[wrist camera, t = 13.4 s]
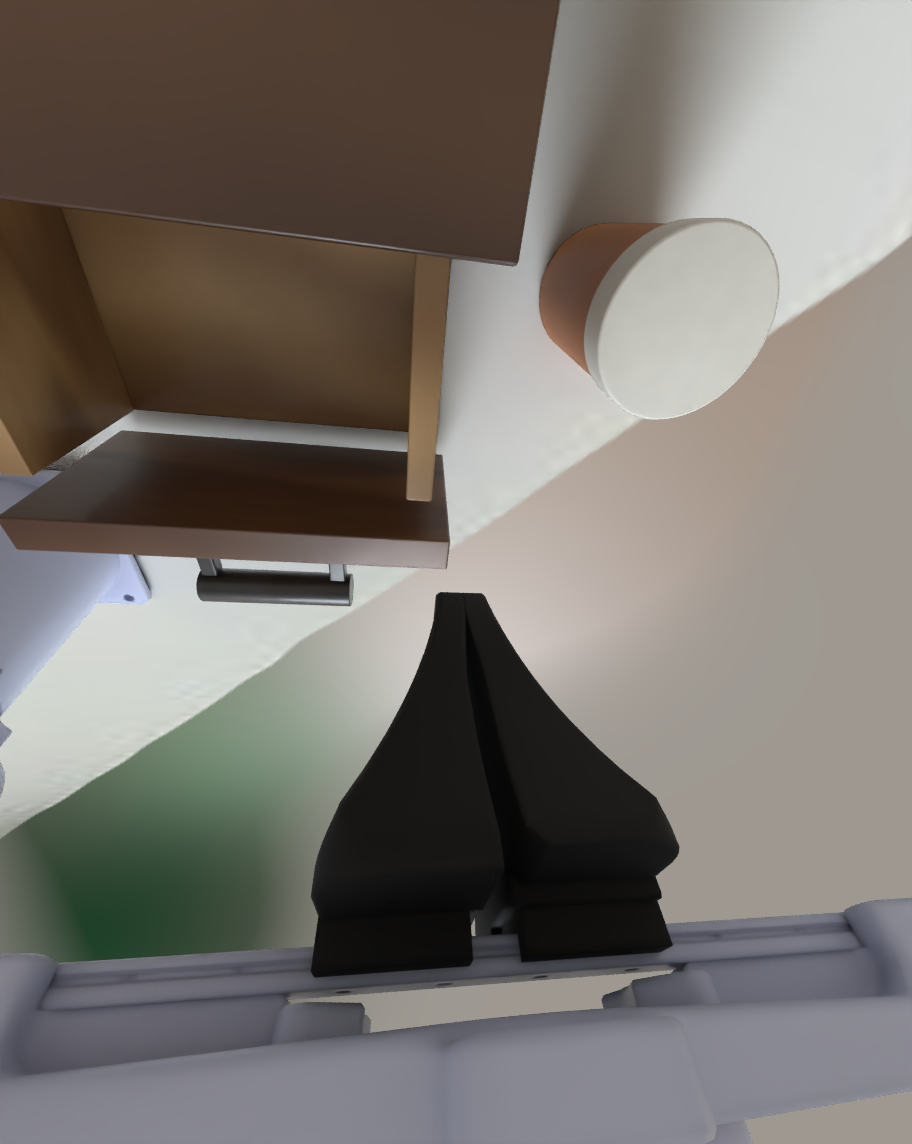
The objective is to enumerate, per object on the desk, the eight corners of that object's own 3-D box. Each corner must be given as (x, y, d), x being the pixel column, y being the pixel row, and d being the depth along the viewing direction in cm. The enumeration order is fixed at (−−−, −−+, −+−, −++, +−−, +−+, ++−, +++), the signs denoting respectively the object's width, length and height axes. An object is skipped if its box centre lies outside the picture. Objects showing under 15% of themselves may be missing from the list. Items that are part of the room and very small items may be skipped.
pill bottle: (525, 350, 18) (576, 413, 12) (552, 211, 15) (636, 204, 9) (626, 361, 18) (723, 426, 12) (670, 228, 15) (822, 232, 9)
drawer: (433, 548, 23) (437, 648, 17) (162, 535, 21) (76, 639, 16) (479, 52, 12) (525, -83, 7) (-69, -51, 10) (-580, -335, 5)
